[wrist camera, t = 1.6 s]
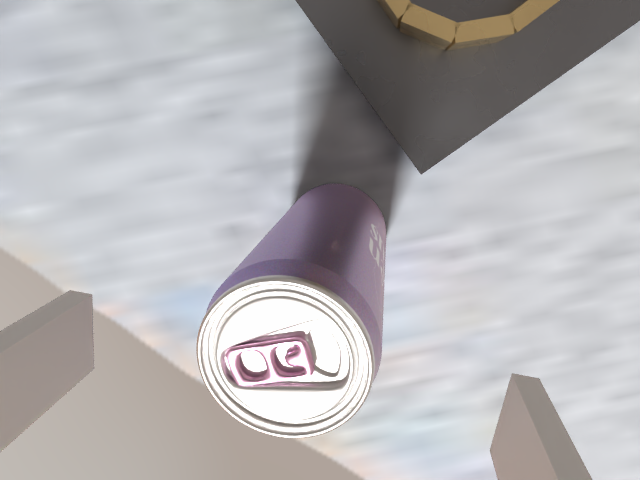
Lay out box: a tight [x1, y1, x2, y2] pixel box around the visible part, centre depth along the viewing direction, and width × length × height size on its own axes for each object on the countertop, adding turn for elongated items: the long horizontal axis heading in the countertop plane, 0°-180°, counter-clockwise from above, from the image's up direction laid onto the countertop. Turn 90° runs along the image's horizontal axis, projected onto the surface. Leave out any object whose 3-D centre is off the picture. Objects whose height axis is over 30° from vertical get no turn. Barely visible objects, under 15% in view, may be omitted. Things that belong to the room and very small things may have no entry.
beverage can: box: [197, 184, 386, 438], centre depth 21 cm, size 6×6×15 cm
